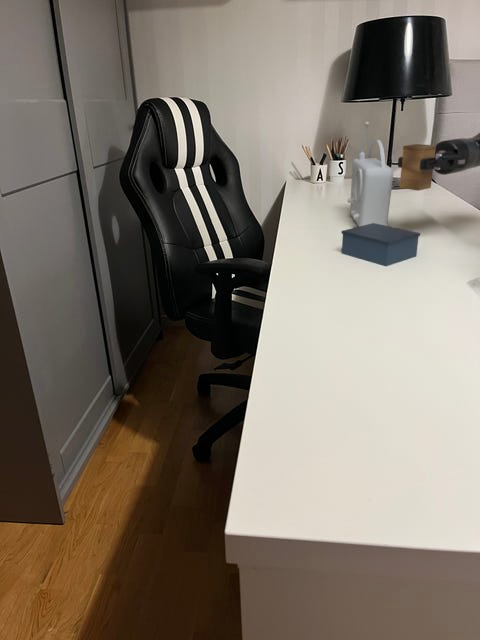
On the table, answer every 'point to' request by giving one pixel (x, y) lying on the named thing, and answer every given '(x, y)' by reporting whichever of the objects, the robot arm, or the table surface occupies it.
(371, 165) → the radio
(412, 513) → the table surface
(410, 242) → the storage box
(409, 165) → the brown wooden block
